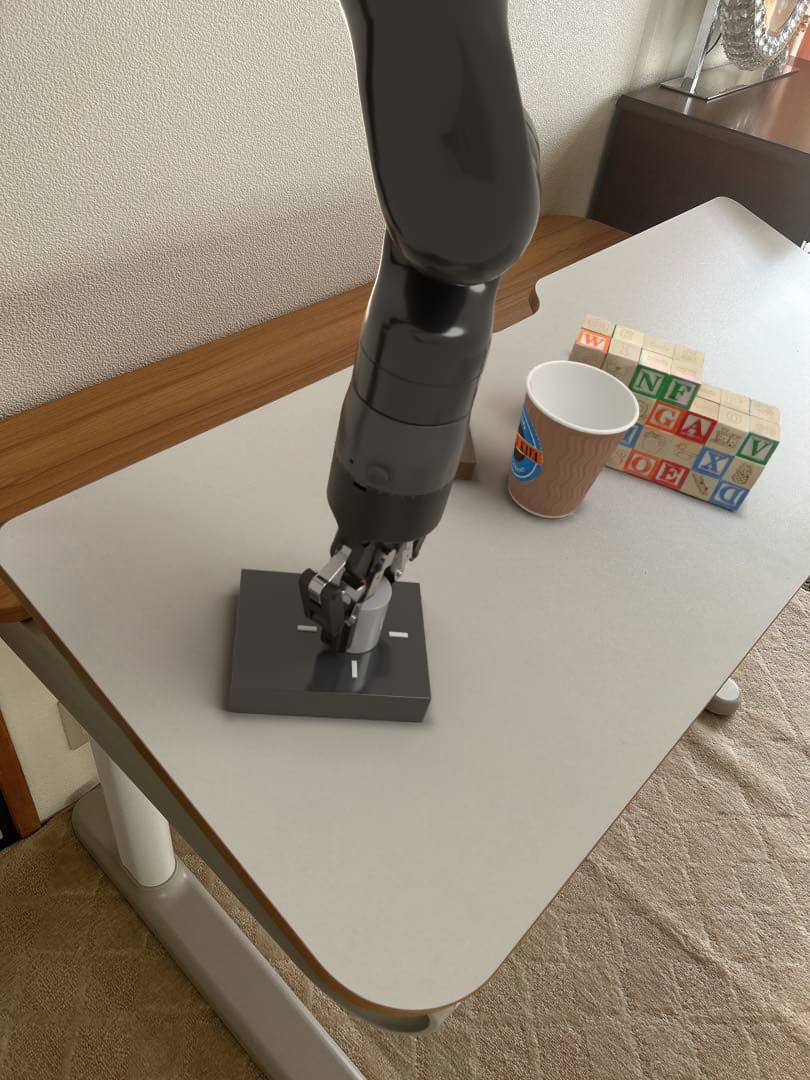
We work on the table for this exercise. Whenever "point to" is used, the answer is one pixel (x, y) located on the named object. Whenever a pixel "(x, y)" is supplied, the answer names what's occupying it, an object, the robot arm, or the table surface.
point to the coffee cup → (566, 435)
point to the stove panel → (325, 657)
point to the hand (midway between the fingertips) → (354, 624)
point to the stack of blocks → (681, 416)
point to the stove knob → (370, 618)
